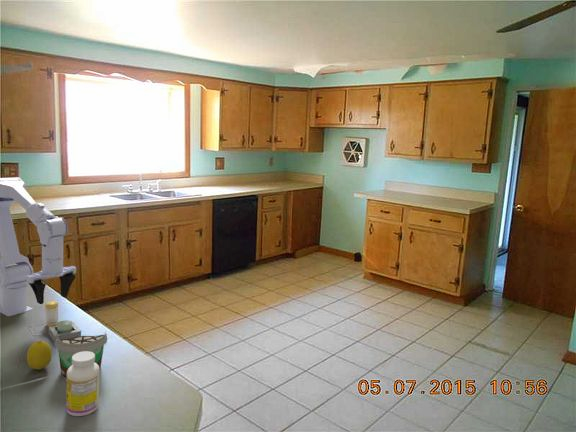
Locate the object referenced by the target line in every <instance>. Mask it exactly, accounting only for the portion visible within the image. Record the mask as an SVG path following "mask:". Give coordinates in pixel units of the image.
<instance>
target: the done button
mask: <svg viewBox="0 0 576 432" xmlns="http://www.w3.org/2000/svg"><path fill="white" fill-rule="evenodd" d="M73 322H74V321H72V320H61V321H60V320H59V321H58V323H57V332H58V334H59V333H64V332H69V331H72V323H73Z"/></svg>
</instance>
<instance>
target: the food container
mask: <svg viewBox="0 0 576 432" xmlns="http://www.w3.org/2000/svg"><path fill="white" fill-rule="evenodd" d="M107 342H108V335H107V333H106V332H104V334H100V335H99V334H98V335H81V336H79V337H75V338H70V339H62V340H59V339H58V337H57V339H56V341H55V343H54V346H55V348H56V349H57V350H58V351H57V352H58V359H59V366H60V368H59V369H60V374H61V376H62V377H63V378H65V379H67V370H68V369H69V367H70V366H72V356H73V355H74V354H76V353H78V352H83V351H90V352H93V353H94V354H95V361H94V362H95V363H96V364H98V366H99V372H100V370H101V368H102V363H103V362H102V359H103V356H104V355H103V353H104V348H105V347H104V346H105V345H106V343H107Z"/></svg>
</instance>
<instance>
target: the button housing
mask: <svg viewBox="0 0 576 432" xmlns="http://www.w3.org/2000/svg"><path fill="white" fill-rule="evenodd" d="M72 322H73V323H72V331H69V332H64V333H59V334H58V332H57V325H56V326H51V327H48V332H49V333H48V335H49V337H50V339H51V340H52V341H53V343H54V344H55V341H56V339H57V337H58V339H59V340H62V339H70V338H75V337H79V336H82V330H81V329H80V328H79V326H78V325H77V324H76V323H75V322H74V321H72Z"/></svg>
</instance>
